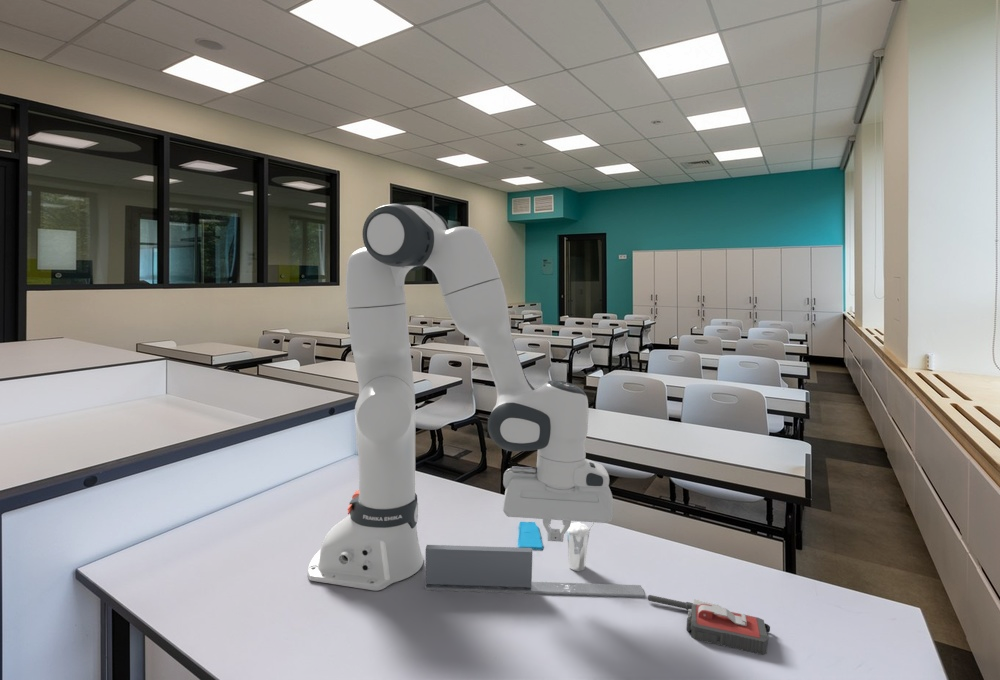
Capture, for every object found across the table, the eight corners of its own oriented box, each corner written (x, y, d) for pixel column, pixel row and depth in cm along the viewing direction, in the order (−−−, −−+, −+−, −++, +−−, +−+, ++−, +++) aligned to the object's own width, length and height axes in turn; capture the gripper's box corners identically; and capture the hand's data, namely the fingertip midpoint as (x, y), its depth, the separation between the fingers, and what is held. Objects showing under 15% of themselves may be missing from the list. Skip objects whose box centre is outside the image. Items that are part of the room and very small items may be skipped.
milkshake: (591, 575, 104) (593, 527, 103) (564, 571, 105) (566, 524, 104) (592, 562, 109) (594, 517, 107) (566, 559, 110) (568, 514, 109)
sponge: (543, 522, 125) (519, 518, 125) (544, 548, 113) (517, 544, 114) (542, 528, 125) (518, 524, 126) (543, 555, 113) (516, 550, 114)
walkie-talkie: (767, 626, 90) (647, 600, 97) (769, 602, 90) (648, 578, 97) (775, 661, 82) (643, 630, 89) (777, 635, 82) (645, 606, 88)
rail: (424, 590, 98) (424, 587, 98) (427, 580, 101) (427, 578, 101) (644, 597, 97) (644, 594, 97) (640, 587, 100) (640, 585, 100)
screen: (425, 583, 99) (425, 548, 98) (426, 579, 100) (426, 544, 100) (531, 587, 98) (532, 552, 98) (531, 582, 100) (532, 547, 99)
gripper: (503, 471, 94) (499, 544, 95) (618, 479, 93) (611, 552, 95) (504, 459, 100) (500, 528, 101) (611, 466, 100) (605, 535, 101)
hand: (555, 540), depth 98 cm, fingers closed
